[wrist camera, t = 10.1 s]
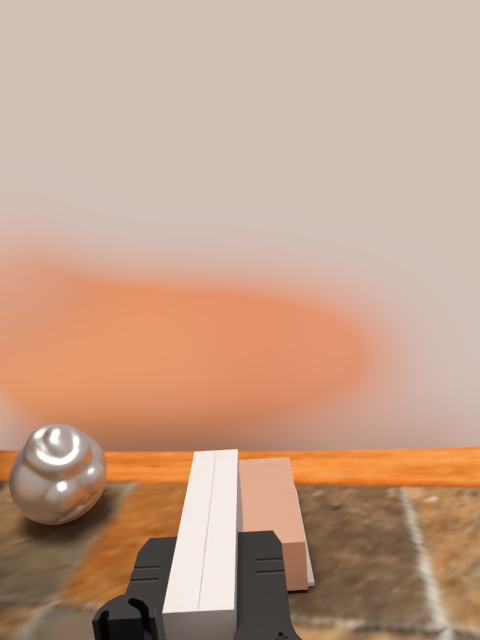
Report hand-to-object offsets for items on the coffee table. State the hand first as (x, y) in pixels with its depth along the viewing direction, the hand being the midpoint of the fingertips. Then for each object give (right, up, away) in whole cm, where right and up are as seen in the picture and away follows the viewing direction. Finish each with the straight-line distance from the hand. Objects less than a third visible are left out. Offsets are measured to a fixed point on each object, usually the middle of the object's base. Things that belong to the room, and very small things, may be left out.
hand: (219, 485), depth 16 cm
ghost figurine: (-16, -14, +29) cm, 36 cm away
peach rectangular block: (+1, -12, +17) cm, 21 cm away
